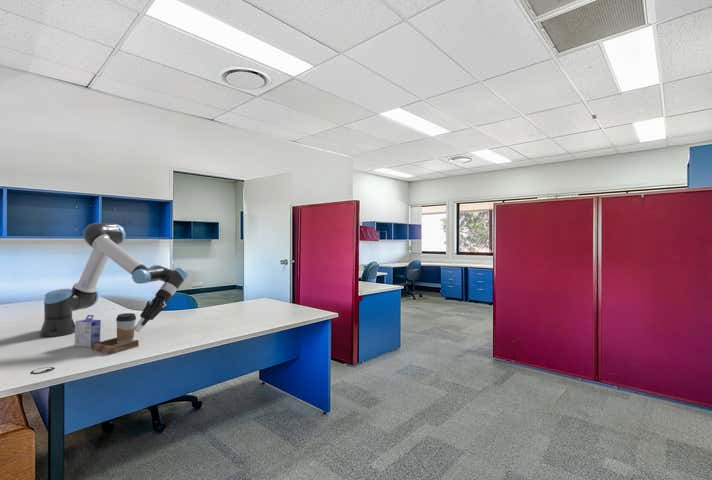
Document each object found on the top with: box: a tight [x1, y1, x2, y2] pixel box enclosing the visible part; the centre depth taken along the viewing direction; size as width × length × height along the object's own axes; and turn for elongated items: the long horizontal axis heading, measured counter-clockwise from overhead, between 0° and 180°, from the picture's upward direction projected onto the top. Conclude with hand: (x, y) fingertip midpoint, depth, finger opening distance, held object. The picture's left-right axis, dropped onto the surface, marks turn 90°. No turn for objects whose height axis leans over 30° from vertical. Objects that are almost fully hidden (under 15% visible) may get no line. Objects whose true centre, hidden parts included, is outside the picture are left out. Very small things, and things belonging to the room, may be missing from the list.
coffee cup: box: [115, 312, 137, 345], centre depth 175 cm, size 8×8×15 cm
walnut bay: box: [91, 337, 140, 355], centre depth 170 cm, size 14×13×3 cm
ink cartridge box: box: [74, 314, 102, 348], centre depth 175 cm, size 10×6×14 cm, turn 78°
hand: (136, 330), depth 180 cm, fingers closed
